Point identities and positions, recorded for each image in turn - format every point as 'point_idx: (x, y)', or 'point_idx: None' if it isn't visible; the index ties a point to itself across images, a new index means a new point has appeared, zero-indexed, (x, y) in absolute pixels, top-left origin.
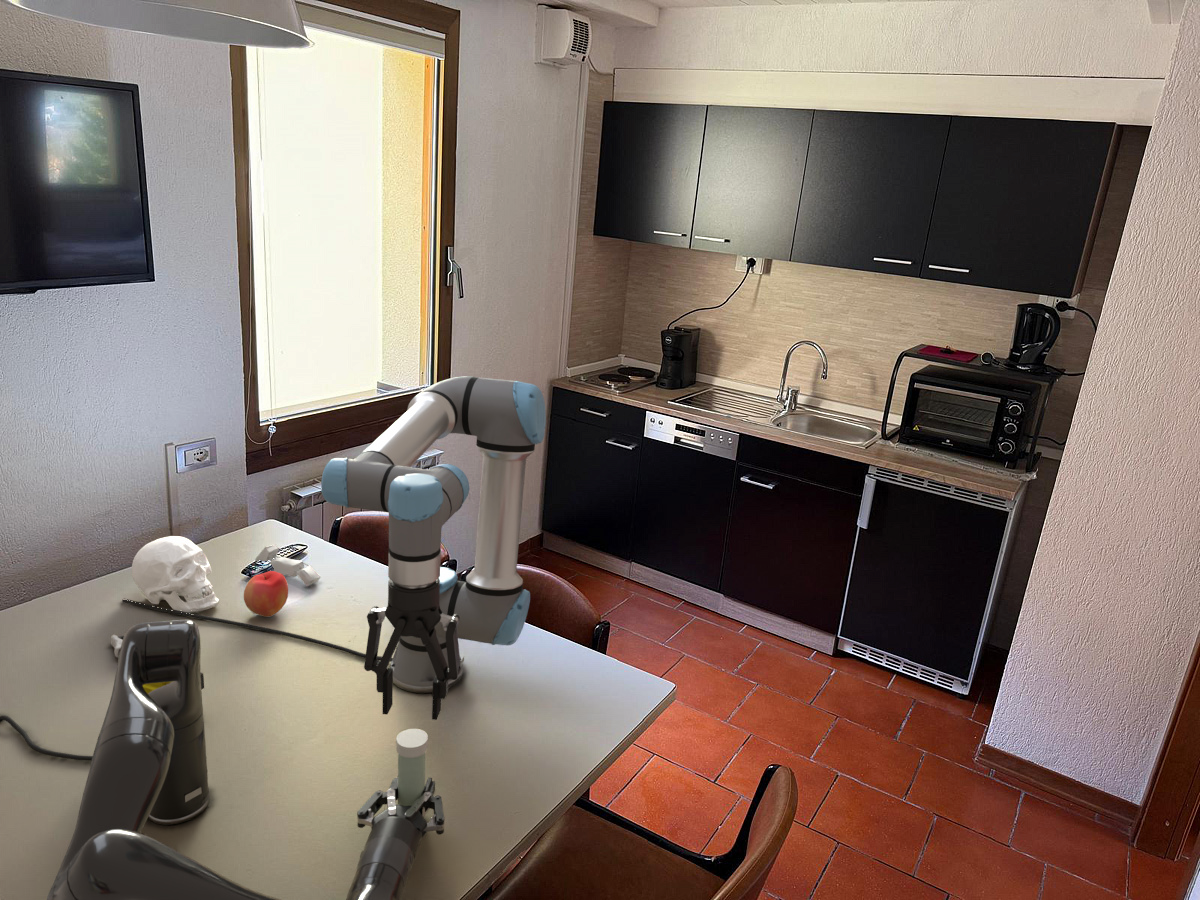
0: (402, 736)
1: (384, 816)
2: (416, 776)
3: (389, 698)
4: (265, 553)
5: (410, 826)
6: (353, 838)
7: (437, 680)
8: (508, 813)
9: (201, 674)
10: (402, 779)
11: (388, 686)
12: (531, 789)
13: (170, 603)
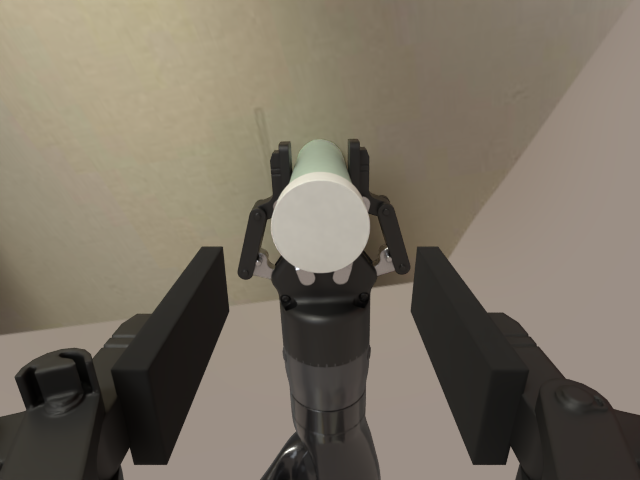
0: (288, 227)
1: (292, 274)
2: None
3: (211, 318)
4: None
5: (357, 324)
6: (233, 206)
7: (501, 440)
8: (500, 99)
9: None
10: None
11: (189, 389)
12: (553, 10)
13: None
